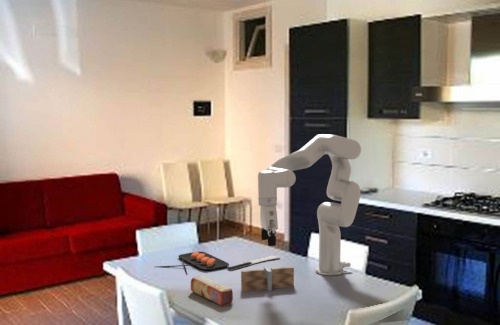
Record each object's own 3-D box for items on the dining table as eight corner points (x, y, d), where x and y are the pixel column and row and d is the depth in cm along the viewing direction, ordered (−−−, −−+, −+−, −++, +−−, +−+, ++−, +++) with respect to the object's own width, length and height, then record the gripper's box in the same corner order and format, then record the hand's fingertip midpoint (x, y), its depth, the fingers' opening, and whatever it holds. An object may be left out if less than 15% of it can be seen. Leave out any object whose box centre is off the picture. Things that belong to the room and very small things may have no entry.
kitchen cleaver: (267, 253, 267) (281, 255, 260) (267, 256, 267) (281, 258, 260) (219, 265, 247) (232, 268, 239) (219, 269, 247) (232, 271, 239)
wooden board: (292, 285, 220) (292, 266, 219) (293, 286, 219) (293, 267, 218) (241, 289, 215) (241, 270, 214) (242, 291, 213) (242, 271, 213)
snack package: (234, 303, 200) (234, 286, 199) (220, 308, 196) (220, 290, 195) (203, 289, 216) (202, 273, 216) (189, 292, 212) (189, 276, 212)
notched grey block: (263, 285, 220) (263, 267, 219) (267, 285, 220) (267, 266, 219) (268, 290, 213) (268, 271, 213) (271, 290, 214) (271, 271, 213)
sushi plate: (231, 268, 246) (231, 260, 245) (172, 280, 229) (172, 271, 229) (202, 254, 270) (201, 247, 269) (146, 264, 253) (146, 256, 253)
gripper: (283, 204, 206) (283, 247, 208) (270, 197, 222) (271, 236, 224) (264, 205, 204) (265, 249, 206) (253, 198, 221) (254, 238, 223)
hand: (268, 242), depth 215 cm, fingers open, 9 cm apart
